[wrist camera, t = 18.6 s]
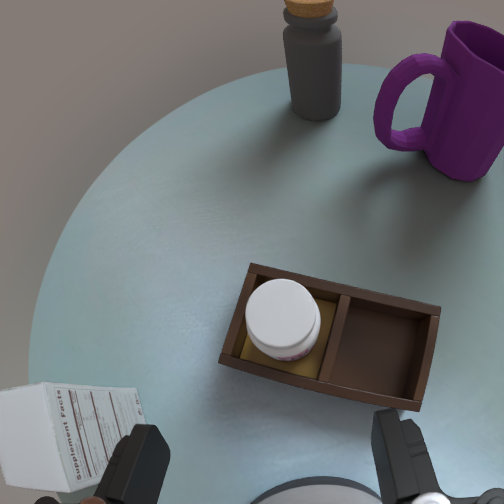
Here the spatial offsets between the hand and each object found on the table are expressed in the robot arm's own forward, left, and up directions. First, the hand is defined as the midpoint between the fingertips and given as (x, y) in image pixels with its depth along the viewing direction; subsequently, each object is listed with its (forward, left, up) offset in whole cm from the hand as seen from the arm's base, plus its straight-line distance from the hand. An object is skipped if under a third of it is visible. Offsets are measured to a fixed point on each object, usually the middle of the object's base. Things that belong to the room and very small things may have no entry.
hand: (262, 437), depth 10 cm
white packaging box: (-8, +14, -15) cm, 22 cm away
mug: (+28, -9, -15) cm, 33 cm away
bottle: (+32, +5, -15) cm, 36 cm away
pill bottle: (+6, +2, -15) cm, 16 cm away
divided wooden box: (+6, -2, -15) cm, 16 cm away
